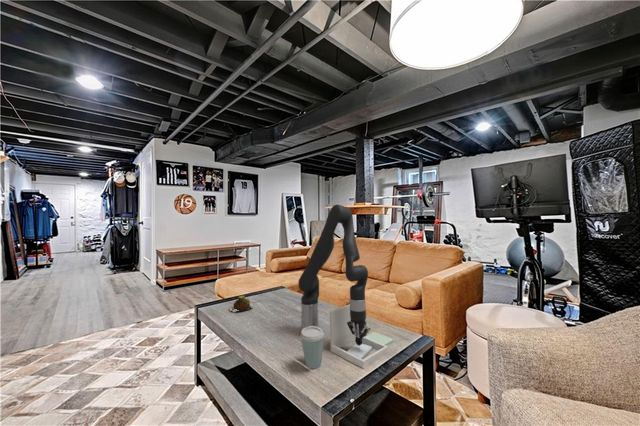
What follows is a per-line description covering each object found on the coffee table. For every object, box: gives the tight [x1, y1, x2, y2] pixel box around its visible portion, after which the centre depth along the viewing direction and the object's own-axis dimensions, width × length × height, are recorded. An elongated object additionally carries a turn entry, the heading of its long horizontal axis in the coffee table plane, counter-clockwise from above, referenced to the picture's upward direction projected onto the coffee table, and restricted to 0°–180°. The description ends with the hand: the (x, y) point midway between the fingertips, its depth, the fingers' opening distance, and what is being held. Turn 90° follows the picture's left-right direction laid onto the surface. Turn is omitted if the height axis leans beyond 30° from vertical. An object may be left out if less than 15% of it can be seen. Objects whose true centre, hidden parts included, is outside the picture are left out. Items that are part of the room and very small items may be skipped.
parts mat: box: [365, 331, 395, 347], centre depth 134 cm, size 10×12×2 cm
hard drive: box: [347, 343, 373, 359], centre depth 123 cm, size 2×8×12 cm
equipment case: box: [329, 304, 389, 369], centre depth 124 cm, size 19×20×19 cm
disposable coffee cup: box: [299, 326, 325, 370], centre depth 115 cm, size 11×11×15 cm
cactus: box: [233, 295, 252, 312], centre depth 188 cm, size 17×16×10 cm
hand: (358, 344), depth 124 cm, fingers closed
